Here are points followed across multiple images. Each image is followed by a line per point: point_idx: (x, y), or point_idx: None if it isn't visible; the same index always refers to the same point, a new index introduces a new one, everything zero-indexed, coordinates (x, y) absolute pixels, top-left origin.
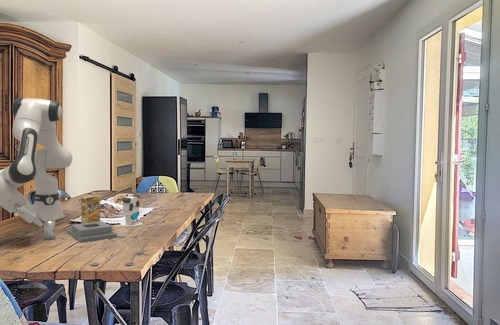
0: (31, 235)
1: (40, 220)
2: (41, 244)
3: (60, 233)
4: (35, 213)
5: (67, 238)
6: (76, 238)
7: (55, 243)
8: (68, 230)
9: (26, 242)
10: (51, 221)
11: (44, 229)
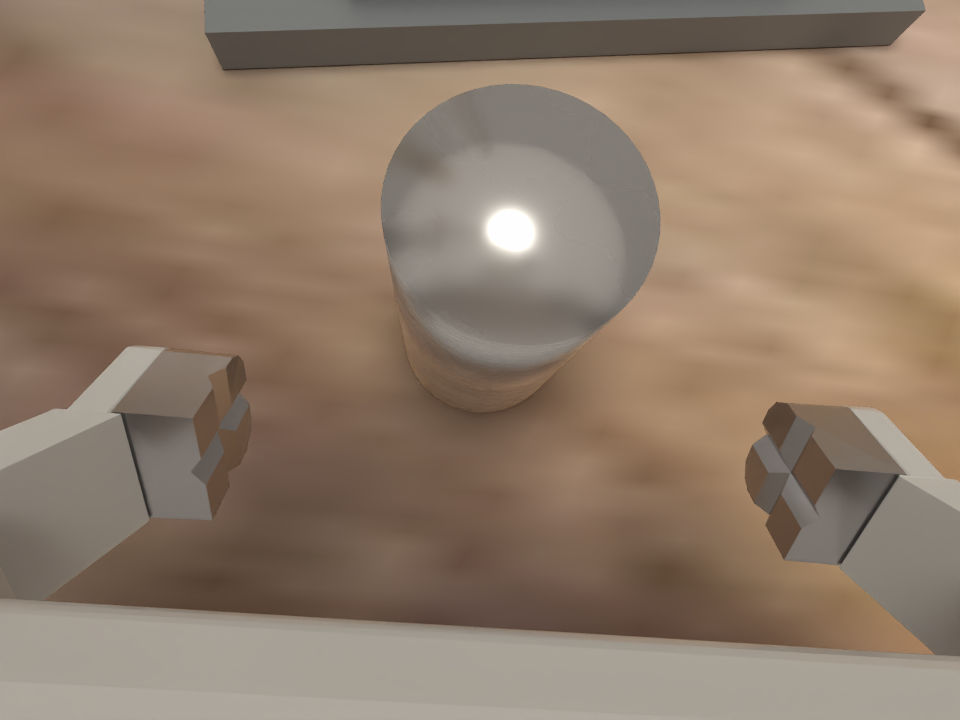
0: None
1: (223, 413)
2: None
3: (209, 152)
4: (853, 696)
5: None
6: (713, 40)
7: (803, 309)
8: (281, 25)
9: None
10: (592, 175)
11: (518, 383)
